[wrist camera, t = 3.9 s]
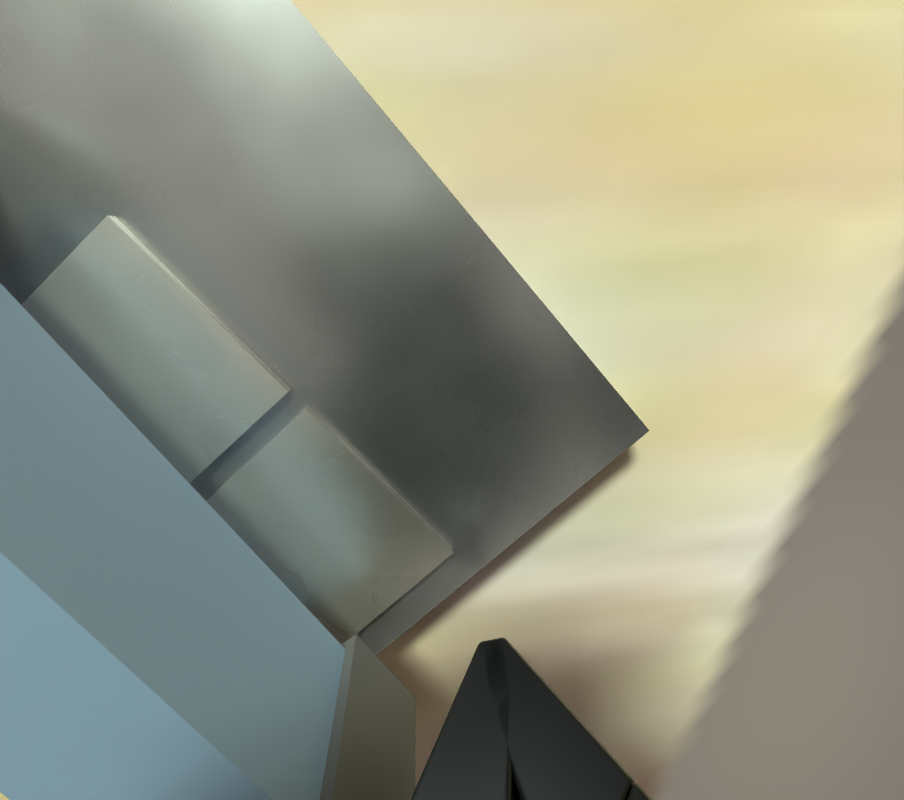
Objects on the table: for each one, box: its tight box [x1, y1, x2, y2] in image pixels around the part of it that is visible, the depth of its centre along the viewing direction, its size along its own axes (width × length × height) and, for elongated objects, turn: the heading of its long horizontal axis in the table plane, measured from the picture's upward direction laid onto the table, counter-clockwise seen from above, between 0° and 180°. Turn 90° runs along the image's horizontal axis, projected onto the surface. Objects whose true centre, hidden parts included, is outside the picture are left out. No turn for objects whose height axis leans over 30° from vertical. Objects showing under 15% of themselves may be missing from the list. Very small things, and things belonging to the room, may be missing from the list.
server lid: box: [0, 0, 649, 656], centre depth 9 cm, size 12×12×2 cm
